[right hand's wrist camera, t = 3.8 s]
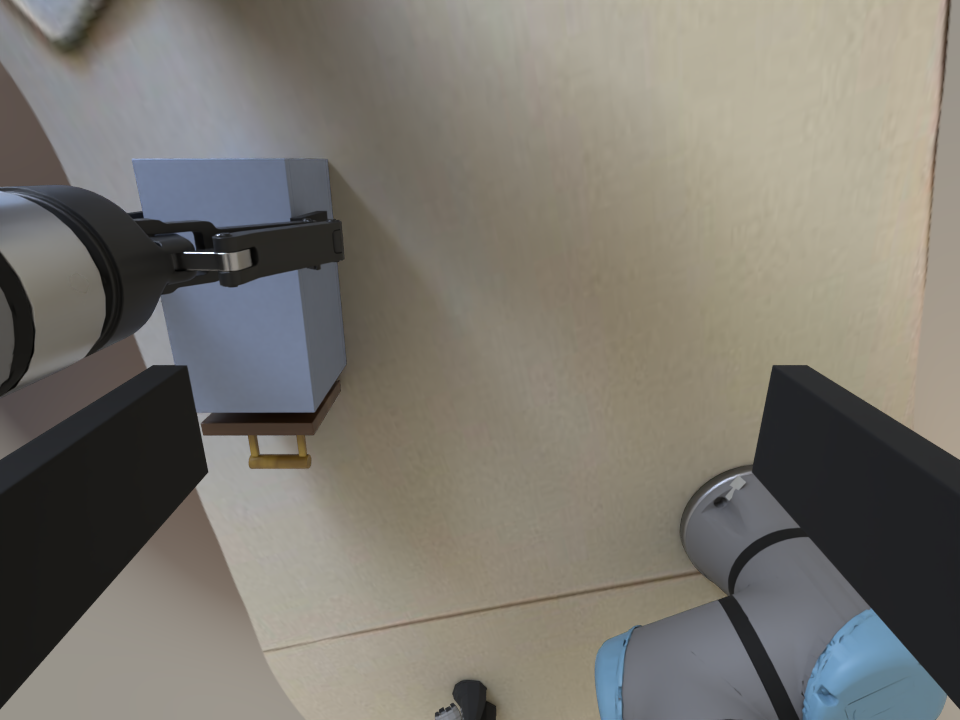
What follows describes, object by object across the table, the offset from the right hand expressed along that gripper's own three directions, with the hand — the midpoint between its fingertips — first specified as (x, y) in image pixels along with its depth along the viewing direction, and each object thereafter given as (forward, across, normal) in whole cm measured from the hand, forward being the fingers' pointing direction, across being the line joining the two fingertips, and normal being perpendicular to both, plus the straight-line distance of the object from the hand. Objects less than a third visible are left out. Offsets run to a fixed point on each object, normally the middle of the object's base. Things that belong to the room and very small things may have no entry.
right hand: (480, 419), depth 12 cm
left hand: (+32, +19, -1) cm, 37 cm away
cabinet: (+41, +19, +4) cm, 45 cm away
